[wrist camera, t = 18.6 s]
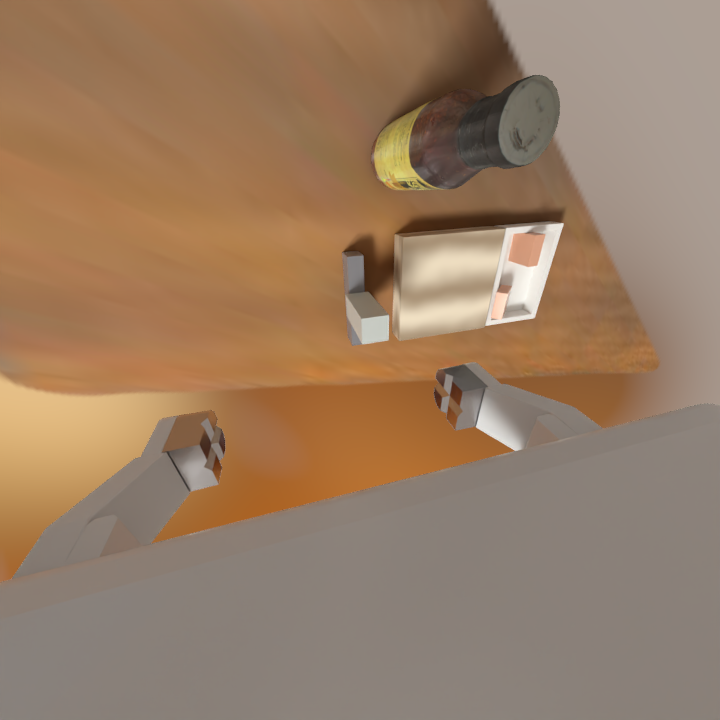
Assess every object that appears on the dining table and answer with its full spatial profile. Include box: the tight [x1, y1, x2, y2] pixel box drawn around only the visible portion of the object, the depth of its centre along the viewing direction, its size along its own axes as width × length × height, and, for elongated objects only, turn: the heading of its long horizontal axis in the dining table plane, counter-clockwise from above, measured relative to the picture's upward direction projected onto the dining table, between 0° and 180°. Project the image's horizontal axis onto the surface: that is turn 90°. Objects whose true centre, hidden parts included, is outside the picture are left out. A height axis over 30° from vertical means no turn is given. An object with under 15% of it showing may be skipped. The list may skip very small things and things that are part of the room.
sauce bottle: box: [371, 75, 560, 190], centre depth 24 cm, size 6×6×20 cm
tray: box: [485, 221, 564, 326], centre depth 43 cm, size 14×9×2 cm, turn 2°
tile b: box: [491, 285, 512, 320], centre depth 43 cm, size 4×4×2 cm
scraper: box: [342, 251, 389, 346], centre depth 35 cm, size 12×3×11 cm, turn 2°
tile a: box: [508, 232, 546, 267], centre depth 39 cm, size 4×4×2 cm
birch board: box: [392, 226, 505, 341], centre depth 40 cm, size 14×14×3 cm
